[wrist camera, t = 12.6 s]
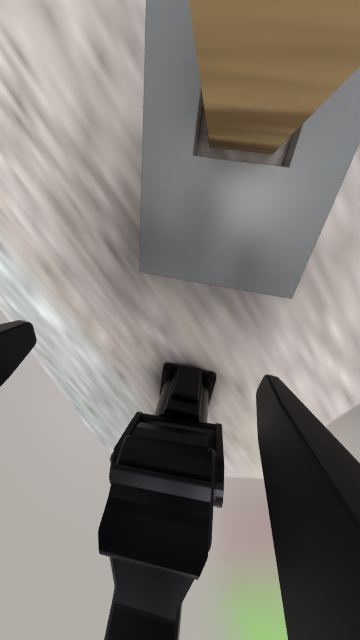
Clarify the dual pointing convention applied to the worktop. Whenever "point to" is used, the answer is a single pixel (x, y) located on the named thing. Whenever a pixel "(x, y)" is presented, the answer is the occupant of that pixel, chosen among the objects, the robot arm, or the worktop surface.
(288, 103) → the pin
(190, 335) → the worktop surface
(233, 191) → the socket board
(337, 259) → the worktop surface
